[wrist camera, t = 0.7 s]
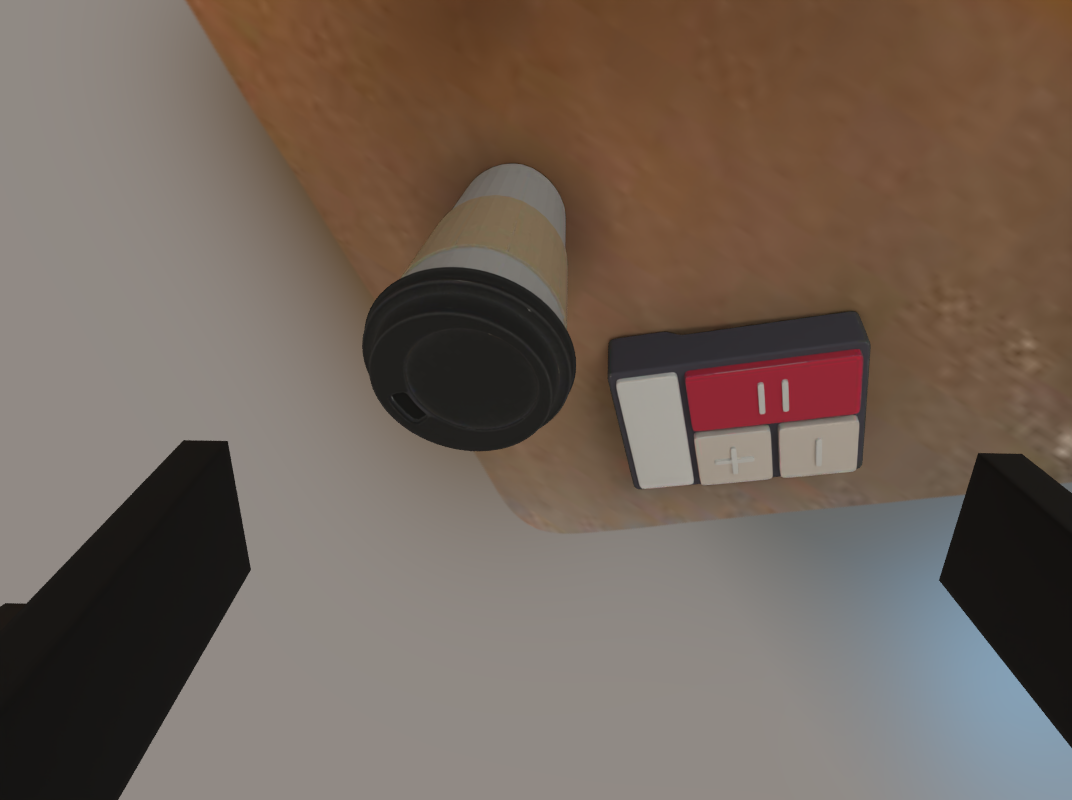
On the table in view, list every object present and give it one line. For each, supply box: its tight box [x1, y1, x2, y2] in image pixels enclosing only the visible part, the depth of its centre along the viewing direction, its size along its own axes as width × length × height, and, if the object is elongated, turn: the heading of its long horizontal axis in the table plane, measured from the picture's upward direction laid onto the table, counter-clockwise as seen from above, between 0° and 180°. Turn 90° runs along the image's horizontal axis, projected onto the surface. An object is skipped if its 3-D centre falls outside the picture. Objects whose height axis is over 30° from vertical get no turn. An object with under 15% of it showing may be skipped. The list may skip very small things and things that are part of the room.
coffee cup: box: [362, 163, 576, 451], centre depth 36 cm, size 9×9×15 cm
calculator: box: [608, 311, 870, 489], centre depth 47 cm, size 11×4×15 cm
